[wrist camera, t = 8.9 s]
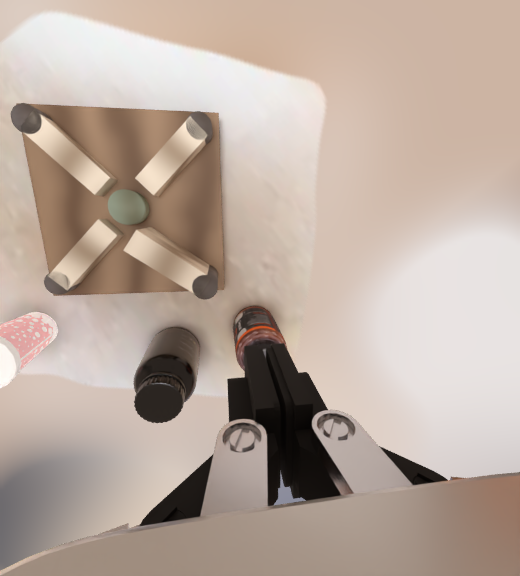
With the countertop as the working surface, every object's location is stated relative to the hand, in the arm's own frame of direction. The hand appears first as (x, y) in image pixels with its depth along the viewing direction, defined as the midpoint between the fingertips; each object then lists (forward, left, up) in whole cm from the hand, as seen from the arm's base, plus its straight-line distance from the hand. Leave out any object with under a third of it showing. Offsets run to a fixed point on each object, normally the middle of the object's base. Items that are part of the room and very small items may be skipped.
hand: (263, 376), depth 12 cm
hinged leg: (-6, +1, -24) cm, 25 cm away
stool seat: (-11, +7, -27) cm, 30 cm away
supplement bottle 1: (-8, -12, -27) cm, 31 cm away
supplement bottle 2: (+3, -9, -27) cm, 29 cm away
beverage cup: (-25, -8, -27) cm, 38 cm away
